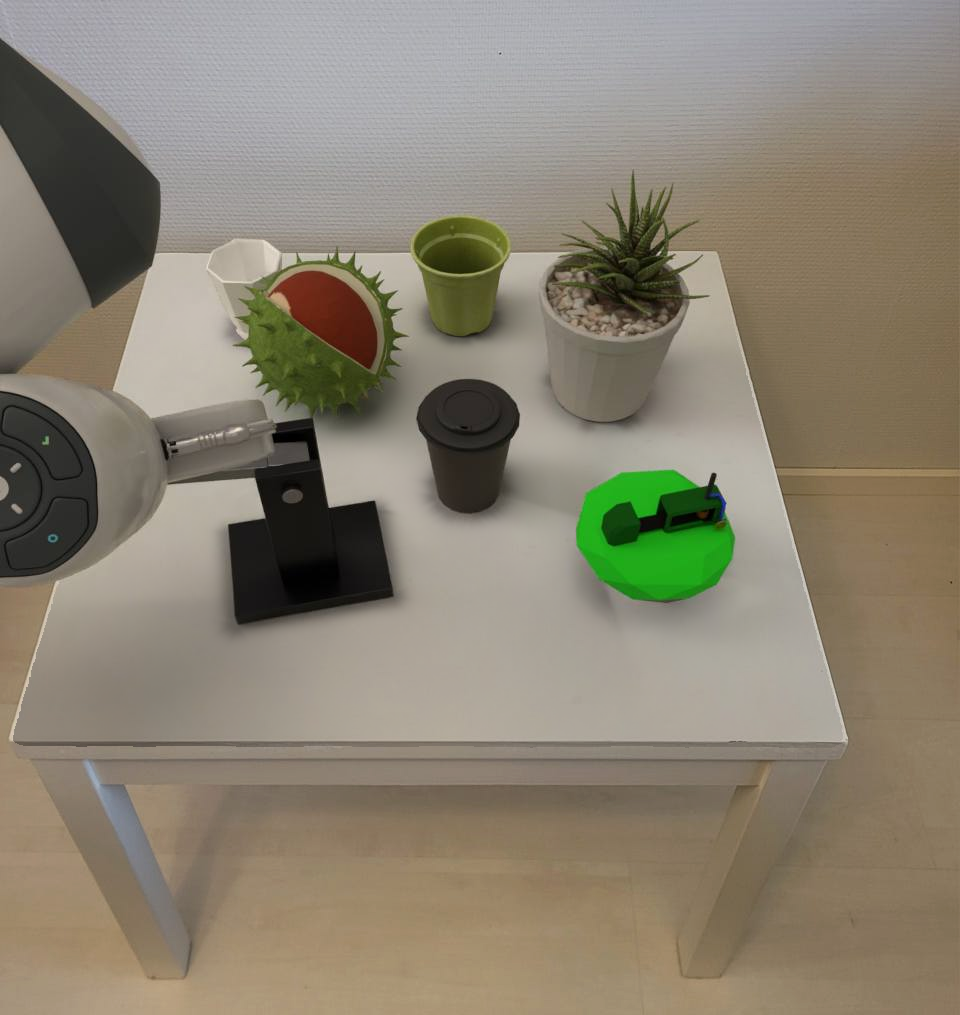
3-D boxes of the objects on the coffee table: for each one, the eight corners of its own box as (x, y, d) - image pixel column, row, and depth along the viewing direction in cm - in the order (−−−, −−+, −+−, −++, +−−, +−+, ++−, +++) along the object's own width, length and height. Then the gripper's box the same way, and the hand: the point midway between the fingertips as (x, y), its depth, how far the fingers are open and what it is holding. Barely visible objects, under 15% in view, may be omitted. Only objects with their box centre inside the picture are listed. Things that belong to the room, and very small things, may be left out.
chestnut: (461, 295, 84) (375, 370, 73) (399, 403, 94) (316, 483, 83) (323, 191, 84) (217, 251, 73) (276, 310, 94) (176, 378, 83)
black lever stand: (237, 624, 73) (198, 511, 62) (230, 532, 79) (193, 414, 68) (393, 597, 75) (381, 482, 64) (376, 509, 80) (362, 389, 70)
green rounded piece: (685, 498, 81) (711, 406, 73) (744, 612, 74) (780, 525, 66) (550, 526, 79) (560, 435, 71) (596, 646, 72) (614, 560, 64)
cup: (230, 359, 92) (212, 291, 85) (211, 295, 98) (193, 227, 91) (302, 342, 93) (290, 274, 87) (279, 281, 99) (266, 213, 93)
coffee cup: (440, 538, 79) (436, 456, 71) (407, 468, 83) (401, 384, 75) (531, 510, 80) (537, 427, 73) (494, 443, 85) (497, 359, 77)
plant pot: (398, 334, 94) (393, 260, 87) (437, 278, 100) (435, 205, 93) (487, 359, 92) (488, 286, 85) (521, 301, 98) (525, 227, 91)
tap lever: (101, 513, 65) (92, 481, 62) (102, 477, 67) (94, 446, 64) (311, 495, 68) (310, 464, 66) (306, 461, 70) (305, 431, 68)
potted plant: (686, 443, 85) (735, 255, 70) (531, 437, 86) (546, 249, 70) (673, 347, 93) (715, 160, 78) (531, 343, 94) (544, 155, 78)
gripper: (262, 367, 51) (263, 379, 65) (-152, 452, 47) (-59, 446, 61) (290, 482, 52) (285, 470, 66) (-114, 575, 48) (-32, 542, 62)
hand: (117, 459), depth 63 cm, fingers closed
